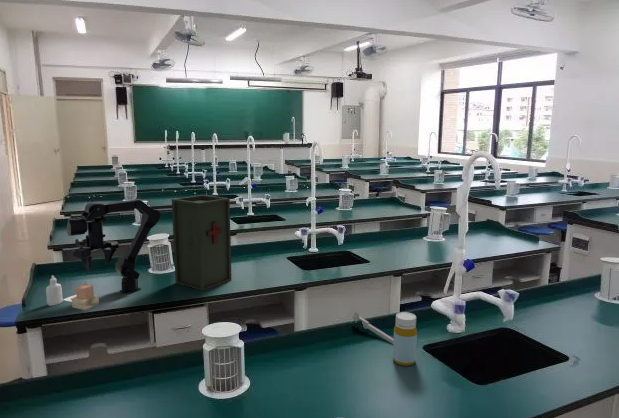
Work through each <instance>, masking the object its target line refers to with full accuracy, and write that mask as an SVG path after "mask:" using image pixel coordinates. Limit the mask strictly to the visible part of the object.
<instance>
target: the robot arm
mask: <svg viewBox="0 0 619 418" xmlns="http://www.w3.org/2000/svg"><path fill="white" fill-rule="evenodd" d="M130 210H137V212H138V213H140V214H141V218H140V226H139V227H138V230H137V231H136V234H135V236H134V237H133V239H132V241H131V244H130V246H129V247H128V249H127V251H126V253H125V254H124V255H123V256H121V255H119V256H118V258H117V261H116V262H115V264H114V265H115V266H114V267H115V271H116V273H118V274H119V275H120V277H122V278H121V289H120V290H119V292H121V293H124V294H133V293H135V292H137V291H140V290H142V288H141V287H139V280H138V279H139V278H140V273H139V272H138V271H137V270H135V269H136V264H137V258H138V255H139V254H140V251H141V249H142V248H143V246H144V244H145V241H146V239H147V238H148V236H149V234H150V231H151V230H152V229H153V228H154V227H155V226H156V225H157V224H158V222H159V221H160V220H161V218H162V215H161V212H160V211H159V210H158V209H154V208H153V207H151V206H149V205H148V204H147V203H146V202H144V201H143V200H142V199H139V198H134V199H129V200H122V201H114V202H96V201H95V202H94V201H93V202H92V201H91V202H88V203H87V204H86V205H85V207H84V210H83V212H82V213H81V215H80V217H79V218H68V219H67V223H66V233H67V235H68V236H69V237H74V236H80V235H81V236H82V235H85V234H86V233H87V234H86V235H85V239H82V238H76V239H75V241H74V243H75V244H74V245H75V246H76V247H77V248H75V249H74V250H73V251H72V254H73V255H72V256H73V257H74V258H78V259H79V260H81V261H82V263H83V265H84V267H85V269H86V271H87V272H91V270H92V260H93V259H92V253H94V252H95V253H96V252H99V251H101V250H102V252H103V254H104V264H105V266H108V267H109V265H110V262H111V260H112V259H113V258H112V257H113V256H114V254H115V253H116V251H117V249H119V248H120V246H119V245H120V244H119V243H118V241H115V240H107V241H104V238H106V234H104V229H103V228H104V227H103V222H108V218H106V217H105V216H106V215H108V214H110V213H114V212H122V211H130Z"/></svg>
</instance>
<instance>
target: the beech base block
mask: <svg viewBox="0 0 619 418" xmlns="http://www.w3.org/2000/svg"><path fill="white" fill-rule="evenodd" d="M99 301H100V300H99V294H94V296H92V297H90V298H87V299H85V300H84V299H80V298H77V297H74V298H72V302H71V307H72V308H73V309H74V308H75V309H78V310H82V311H85V310H89V309H91V308H93V307H95V306H98V305H99V304H100V302H99Z"/></svg>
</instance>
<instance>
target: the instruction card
mask: <svg viewBox="0 0 619 418" xmlns="http://www.w3.org/2000/svg"><path fill="white" fill-rule="evenodd" d="M74 297H77V296H76V294H74V295H71V296H68V297H66V298H63V302H69V303H72V298H74Z"/></svg>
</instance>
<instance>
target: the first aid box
mask: <svg viewBox="0 0 619 418" xmlns="http://www.w3.org/2000/svg"><path fill="white" fill-rule="evenodd" d="M230 200H231V198H229V197H222V196H214V195H206V194H200V195H192V196H187V197H180V198H179V197H178V198H172V199H171V213H172V214H171V215H172V217H171V218H172V235H173V236H172V237H173V238H172V239H173V240H172V241H173V258H174V261H173V262H174V280H175V282H176V283H175V284H177V283H179V284H178V285H180V284H183V285H186V286H185V287H187V286H189V287H188V288H190V287H192V288H191V289H193V288H195V289H194V290H196V289H199V290H198V291H200V290H202V291H201V292H203V290H204V291H206V290H205V289H207V290H209V288H210V289H212V288H215V287H217V285H218V286H220V284H221V285H223V284H226V283H229V282H231V281H232V250H231V249H232V246H231V244H232V243H231V242H232V241H231V239H232V238H231V208H230V207H231V202H230ZM228 281H229V282H228ZM225 282H226V283H225ZM222 283H223V284H222ZM183 285H182V286H183ZM214 286H215V287H214Z"/></svg>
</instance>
